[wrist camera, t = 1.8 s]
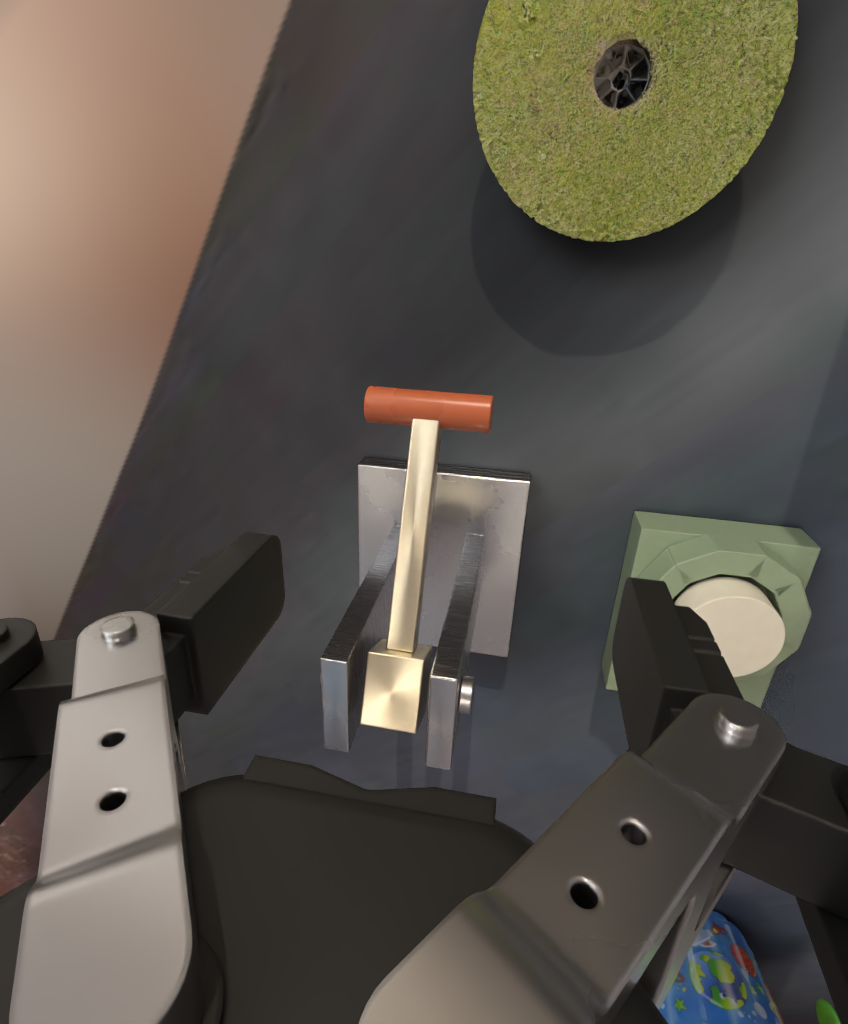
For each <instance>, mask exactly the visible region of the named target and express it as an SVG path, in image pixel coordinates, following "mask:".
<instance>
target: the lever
mask: <svg viewBox="0 0 848 1024" xmlns="http://www.w3.org/2000/svg"><path fill="white" fill-rule="evenodd" d="M493 403H494V398H493V396H489V395H477V394H464V393H452V392H439V391H426V390H414V389H401V388H389V387H376V386H370V387H368V389H367V391H366V394H365V400H364V414H365V419H366V421H367V422H373V423H384V424H396V425H407V426H412V427H411V435H410V444H409V453H408V462H407V470H406V479H405V488H404V497H403V505H402V514H401V523H400V531H399V540H398V549H397V558H396V566H395V575H394V584H393V593H392V601H391V610H390V619H389V628H388V636H387V640H386V639H382V640H380V641H379V642H378V643H377V644H376V645H375V646H374V647H373V648H372V649H371V650H369V651H368V656H367V664H366V673H365V682H364V690H363V699H362V708H361V717H360V724H362V725H368V726H374V727H380V728H386V729H391V730H397V731H403V732H409V733H414V734H415V733H416V732H417V730H418V728H419V725H420V723H421V721H422V718H423V716H424V714H425V710H426V701H427V692H428V683H429V675H430V666H431V657H432V647H431V646H426V645H419V644H418V635H419V626H420V617H421V609H422V600H423V591H424V582H425V574H426V565H427V556H428V547H429V538H430V530H431V521H432V512H433V503H434V495H435V486H436V477H437V468H438V459H439V451H440V442H441V433H442V429H451V430H462V431H474V432H485V433H489V432H490V430H491V423H492V414H493Z"/></svg>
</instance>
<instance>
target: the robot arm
mask: <svg viewBox="0 0 848 1024" xmlns="http://www.w3.org/2000/svg"><path fill="white" fill-rule="evenodd" d="M284 598H285V589H284V577H283V565H282V553H281V544H280V540H279V538H278V537H277V536H274V535H265V534H256V533H244V534H242V535H241V536H240V537H239V538H238V539H237V540H236V541H235V542H234V543H233V544H231V545H230V546H229V547H228V548H227V549H226V550H220V551H218V552H216V553H214V554H211V555H209V556H207V557H205V558H203V559H201V560H200V561H199V562H198V563H197V564H196V565H194V566H193V567H192V568H191V569H190V570H189V572H188V573H185V574H184V575H183V576H182V577H181V578H180V579H178V582H177V583H174V584H173V585H172V586H170V587H169V588H168V589H167V590H166V591H165V592H164V593H162V594H161V595H160V596H159V597H158V598H157V599H156V600H154V601H153V602H152V603H151V604H150V605H149V606H148V607H146V608H145V609H144V610H143V611H142V612H141V611H128V612H121V613H116V614H112V615H109V616H106V617H104V618H101V619H99V620H97V621H95V622H93V623H92V624H90V625H89V626H87V627H86V628H85V629H84V630H83V631H82V632H81V633H80V635H79V636H78V639H64V640H50V641H40V638H39V635H38V632H37V628H36V625H35V624H34V623H33V622H32V621H30V620H27V619H22V618H5V619H0V824H1V823H2V822H3V821H4V820H5V819H6V818H7V816H8V815H9V814H10V813H11V812H12V811H13V810H14V809H15V807H16V806H17V805H18V804H19V803H20V802H21V801H22V800H23V798H24V797H25V796H26V795H27V794H28V793H29V792H30V791H31V789H32V788H33V787H34V786H35V785H36V784H37V783H38V782H39V780H40V779H41V778H42V777H43V776H44V775H45V774H46V773H47V772H48V770H49V769H50V768H51V772H50V781H49V789H48V797H47V805H46V813H45V822H44V830H43V838H42V846H41V854H40V863H39V871H38V875H37V876H35V877H34V878H32V879H30V880H29V881H27V882H25V883H23V884H22V885H20V886H18V887H17V888H15V889H13V890H11V891H10V892H8V893H6V894H5V895H3V896H1V897H0V1024H668V1023H667V1021H666V1020H665V1018H664V1017H663V1015H662V1014H661V1013H660V1011H659V1009H660V1007H661V1005H662V1004H663V1002H664V1000H665V998H666V996H667V994H668V992H669V990H670V988H671V987H672V985H673V983H674V980H675V978H676V976H677V974H678V972H679V970H680V968H681V966H682V964H683V962H684V960H685V958H686V956H687V954H688V952H689V950H690V948H691V946H692V945H693V943H694V941H695V939H696V938H697V936H698V934H699V933H700V931H701V929H702V928H703V926H704V924H705V922H706V921H707V919H708V917H709V916H710V914H711V912H712V910H713V909H714V907H715V905H716V904H717V902H718V900H719V899H720V897H721V895H722V893H723V892H724V890H725V888H726V887H727V885H728V883H729V881H730V880H731V878H732V876H733V875H734V873H735V871H736V869H738V870H741V871H743V872H745V873H747V874H749V875H751V876H753V877H756V878H758V879H760V880H762V881H764V882H766V883H768V884H771V885H773V886H775V887H777V888H779V889H781V890H783V891H786V892H788V893H790V894H792V895H794V896H796V899H797V902H798V905H799V908H800V910H801V913H802V916H803V919H804V922H805V924H806V927H807V930H808V933H809V936H810V939H811V941H812V944H813V947H814V950H815V953H816V955H817V958H818V961H819V964H820V967H821V969H822V972H823V975H824V978H825V981H826V984H827V986H828V989H829V992H830V995H831V998H832V1000H833V1003H834V1006H835V1009H836V1012H837V1014H838V1017H839V1020H840V1023H841V1024H848V765H847V766H845V765H842V764H840V763H837V762H834V761H831V760H829V759H826V758H823V757H820V756H818V755H815V754H812V753H809V752H807V751H804V750H802V749H799V748H797V747H795V746H793V745H791V744H789V743H787V742H786V737H785V734H784V732H783V730H782V728H781V727H780V726H779V724H778V723H777V722H776V721H775V720H774V719H773V718H772V717H771V716H770V715H769V714H767V713H766V712H765V711H763V710H762V709H760V708H759V707H757V706H755V705H754V704H752V703H750V702H748V701H745V700H744V698H743V696H742V694H741V692H740V690H739V688H738V686H737V684H736V682H735V680H734V678H733V676H732V673H731V671H730V669H729V667H728V665H727V663H726V661H725V659H724V657H723V656H721V651H720V649H719V647H718V645H717V643H716V642H715V641H714V640H715V639H714V637H713V634H712V632H711V630H710V628H709V626H708V624H707V622H706V621H704V620H703V619H702V618H701V617H700V616H699V615H698V614H697V613H695V612H694V611H693V610H692V609H691V608H690V607H686V606H677V605H675V604H674V601H673V599H672V597H671V594H670V592H669V589H668V587H667V585H666V583H665V582H664V581H659V580H650V579H641V578H633V577H628V578H627V580H626V582H625V585H624V589H623V594H622V599H621V603H620V608H619V613H618V618H617V623H616V627H615V632H614V637H613V646H612V662H613V669H614V674H615V679H616V684H617V689H618V694H619V699H620V704H621V709H622V714H623V719H624V724H625V729H626V734H627V739H628V744H629V749H630V750H627V751H625V752H624V753H622V754H621V755H620V756H619V757H618V758H617V759H616V760H615V761H614V762H613V763H612V764H611V765H610V766H609V767H608V769H607V770H606V771H605V772H604V773H603V774H602V775H601V776H600V777H599V778H598V779H597V780H596V781H595V782H594V783H593V784H592V785H591V786H590V787H589V788H588V789H587V790H586V791H585V792H584V793H583V794H582V795H581V796H580V797H579V798H578V799H577V800H576V801H575V802H574V803H573V804H572V805H571V806H570V807H569V808H568V809H567V810H566V811H565V812H564V814H563V815H562V816H561V817H560V818H559V819H558V820H557V821H556V822H555V823H554V824H553V825H552V826H551V827H550V828H549V829H548V830H547V831H546V832H545V833H544V834H543V835H542V836H541V837H540V838H539V839H538V840H537V841H536V842H535V843H533V842H532V841H531V840H529V839H528V838H527V837H525V836H524V835H523V834H521V833H520V832H518V831H516V830H515V829H513V828H511V827H509V826H508V825H506V824H504V823H501V822H499V821H497V820H495V811H496V798H492V797H486V796H480V795H475V794H469V793H464V792H458V791H452V790H447V789H441V788H436V787H428V788H407V789H387V790H367V789H364V788H361V787H359V786H356V785H354V784H352V783H350V782H348V781H345V780H343V779H341V778H339V777H336V776H334V775H332V774H330V773H328V772H325V771H323V770H321V769H319V768H317V767H314V766H312V765H307V764H302V763H296V762H290V761H285V760H279V759H274V758H268V757H263V756H257V755H255V757H254V759H253V761H252V762H251V764H250V766H249V768H248V769H247V771H246V773H245V774H244V775H235V776H228V777H222V778H219V779H215V780H211V781H207V782H205V783H202V784H199V785H196V786H194V787H191V788H189V789H188V782H187V775H186V768H185V761H184V754H183V746H182V739H181V732H180V727H179V721H178V719H179V718H180V717H181V715H182V714H183V713H184V712H185V711H189V712H195V713H200V714H206V715H208V714H209V712H210V711H211V709H212V708H213V707H214V705H215V704H216V703H217V701H218V700H219V698H220V697H221V696H222V694H223V693H224V692H225V690H226V689H227V688H228V686H229V685H230V683H231V682H232V681H233V679H234V678H235V677H236V675H237V674H238V673H239V671H240V670H241V668H242V667H243V666H244V664H245V663H246V662H247V660H248V659H249V658H250V656H251V655H252V653H253V652H254V651H255V649H256V648H257V647H258V645H259V644H260V642H261V641H262V640H263V638H264V637H265V636H266V634H267V633H268V632H269V630H270V629H271V627H272V626H273V625H274V623H275V622H276V621H277V619H278V618H279V616H280V614H281V612H282V609H283V605H284Z"/></svg>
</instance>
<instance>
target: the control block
mask: <svg viewBox="0 0 848 1024" xmlns="http://www.w3.org/2000/svg"><path fill="white" fill-rule="evenodd" d="M820 549H821V548H820V547H819V546H818V545H817V544H816V543H815V542H814V541H813V540H812V539H811V538H810V537H809V536H808V535H807V534H806V533H805V532H804V531H803V530H802V529H800V528H791V527H782V526H773V525H763V524H754V523H744V522H735V521H726V520H716V519H707V518H697V517H688V516H679V515H669V514H660V513H650V512H641V511H634V515H633V520H632V525H631V529H630V534H629V539H628V543H627V548H626V552H625V557H624V562H623V566H622V571H621V576H620V580H619V585H618V590H617V594H616V599H615V603H614V608H613V613H612V617H611V622H610V627H609V631H608V636H607V641H606V645H605V650H604V654H603V659H602V670H603V676H604V682H605V688H606V689H609V690H616V691H618V689H617V684H616V679H615V674H614V669H613V662H612V646H613V637H614V632H615V627H616V623H617V618H618V613H619V608H620V603H621V599H622V594H623V589H624V585H625V582H626V580H627V578H628V577H633V578H641V579H650V580H659V581H664V582H665V583H666V585H667V587H668V589H669V592H670V594H671V597H672V599H673V601H674V603H675V601H676V600H677V598H678V597H679V596H680V595H681V594H682V593H683V592H684V591H685V590H686V589H687V588H689V587H690V586H692V585H694V584H696V583H698V582H700V581H703V580H706V579H710V578H715V577H733V578H738V579H742V580H745V581H747V582H750V583H752V584H753V585H755V586H756V587H758V588H759V589H760V590H761V591H762V592H763V593H764V594H765V595H766V597H767V598H768V600H769V601H770V603H771V604H772V605H773V607H774V608H775V610H776V611H777V613H778V614H779V616H780V617H781V619H782V621H783V623H784V627H785V641H784V644H783V647H782V649H781V651H780V653H779V654H778V656H777V657H776V658H775V659H774V660H773V661H772V662H771V663H770V664H768V665H767V666H765V667H764V668H762V669H760V670H758V671H756V672H754V673H751V674H748V675H744V676H739V677H733V678H734V680H735V682H736V684H737V686H738V688H739V690H740V692H741V694H742V696H743V698H744V700H745V701H748V702H750V703H752V704H754V705H755V706H757V707H759V708H761V705H762V703H763V700H764V697H765V695H766V692H767V689H768V687H769V684H770V681H771V679H772V676H773V673H774V671H775V668H776V666H777V665H779V664H780V663H781V662H782V661H784V660H785V659H786V658H788V657H789V656H790V655H792V654H793V653H794V652H795V651H797V650H798V648H799V646H800V644H801V641H802V639H803V636H804V634H805V631H806V629H807V626H808V623H809V621H810V618H811V616H812V615H811V609H810V606H809V603H808V600H807V597H806V594H805V589H806V586H807V584H808V581H809V578H810V576H811V573H812V570H813V568H814V565H815V563H816V560H817V557H818V555H819V552H820Z"/></svg>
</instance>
